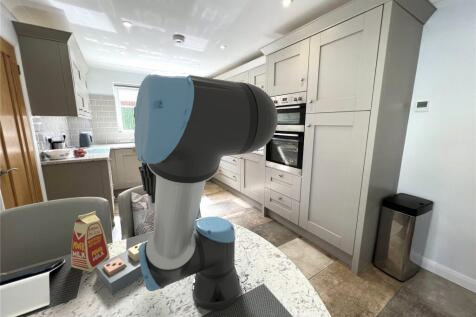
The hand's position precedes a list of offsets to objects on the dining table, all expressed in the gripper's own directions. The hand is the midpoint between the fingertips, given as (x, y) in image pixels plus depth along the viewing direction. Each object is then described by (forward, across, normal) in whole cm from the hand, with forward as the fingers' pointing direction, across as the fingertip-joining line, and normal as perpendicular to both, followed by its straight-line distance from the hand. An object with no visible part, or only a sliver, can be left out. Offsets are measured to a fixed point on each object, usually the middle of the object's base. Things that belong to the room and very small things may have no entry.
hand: (153, 209), depth 75 cm
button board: (+19, -1, +7) cm, 21 cm away
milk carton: (+19, +16, +17) cm, 31 cm away
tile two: (+15, -1, +7) cm, 17 cm away
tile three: (+17, -1, +15) cm, 23 cm away
